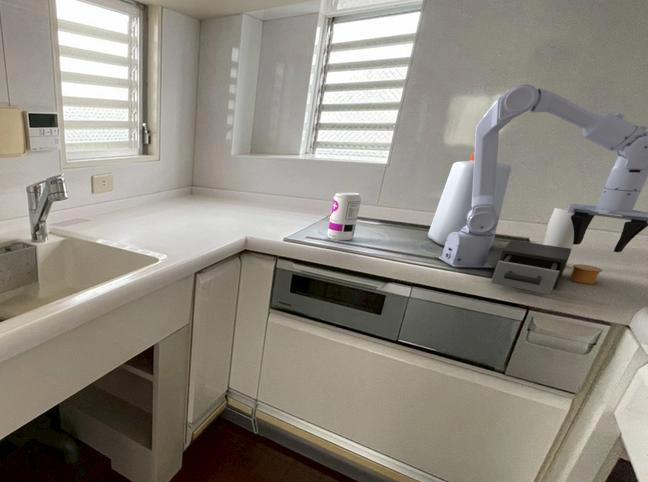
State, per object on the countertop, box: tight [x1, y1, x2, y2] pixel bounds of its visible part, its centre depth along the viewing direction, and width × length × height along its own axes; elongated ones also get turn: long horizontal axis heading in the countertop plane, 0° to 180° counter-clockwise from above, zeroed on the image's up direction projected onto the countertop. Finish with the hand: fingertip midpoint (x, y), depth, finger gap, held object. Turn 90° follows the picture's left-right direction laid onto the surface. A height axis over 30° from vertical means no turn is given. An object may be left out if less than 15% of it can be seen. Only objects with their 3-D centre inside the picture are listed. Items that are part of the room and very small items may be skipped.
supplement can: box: [327, 191, 362, 241], centre depth 135 cm, size 8×8×15 cm
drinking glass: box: [542, 206, 575, 250], centre depth 109 cm, size 7×7×15 cm
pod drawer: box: [490, 254, 560, 295], centre depth 94 cm, size 17×10×5 cm, turn 133°
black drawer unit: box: [498, 239, 572, 290], centre depth 101 cm, size 14×12×7 cm
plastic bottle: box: [427, 151, 512, 248], centre depth 126 cm, size 15×15×28 cm
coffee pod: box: [569, 263, 603, 285], centre depth 98 cm, size 5×5×3 cm
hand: (596, 247), depth 96 cm, fingers open, 7 cm apart
